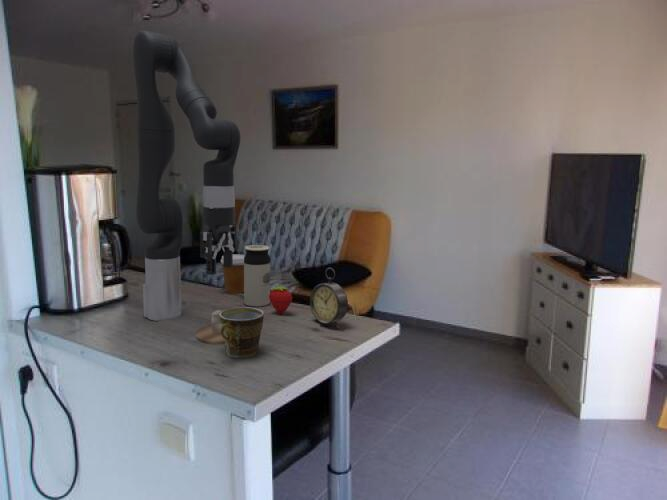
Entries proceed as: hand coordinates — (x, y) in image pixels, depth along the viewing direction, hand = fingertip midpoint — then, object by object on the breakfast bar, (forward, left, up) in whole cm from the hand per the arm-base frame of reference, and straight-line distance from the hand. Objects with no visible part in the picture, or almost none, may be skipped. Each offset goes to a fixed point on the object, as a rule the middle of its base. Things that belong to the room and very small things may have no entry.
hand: (219, 270), depth 124 cm
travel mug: (-4, +31, -18) cm, 36 cm away
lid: (0, 0, -17) cm, 17 cm away
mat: (-1, 0, -17) cm, 17 cm away
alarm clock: (+23, +19, -18) cm, 35 cm away
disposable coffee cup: (-17, +42, -18) cm, 49 cm away
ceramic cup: (+10, -10, -18) cm, 22 cm away
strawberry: (+7, +23, -18) cm, 30 cm away
